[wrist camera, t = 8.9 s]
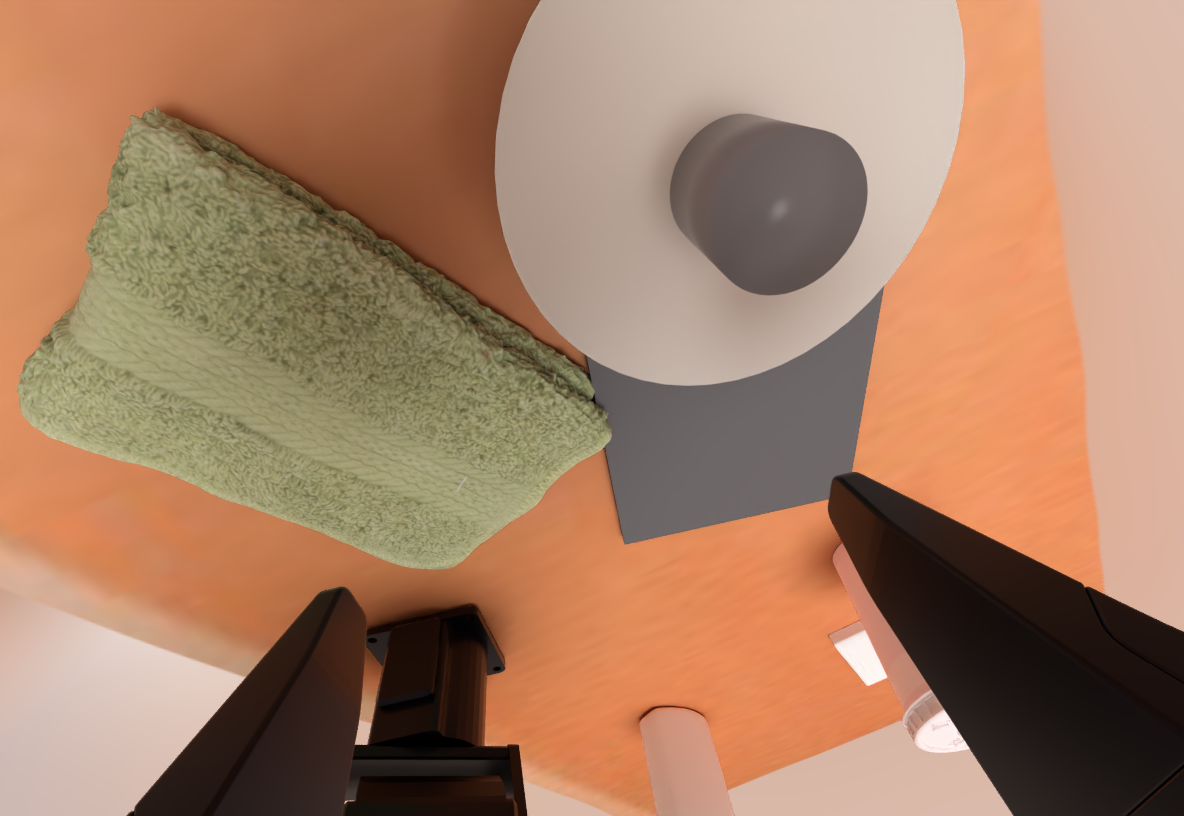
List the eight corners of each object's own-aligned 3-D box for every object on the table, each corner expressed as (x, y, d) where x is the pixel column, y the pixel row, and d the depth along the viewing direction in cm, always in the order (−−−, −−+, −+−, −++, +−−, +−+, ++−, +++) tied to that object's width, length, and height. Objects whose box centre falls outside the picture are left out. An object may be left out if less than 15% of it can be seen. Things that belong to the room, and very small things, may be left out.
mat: (841, 487, 27) (847, 494, 27) (622, 535, 27) (624, 544, 27) (876, 272, 20) (885, 278, 20) (582, 336, 20) (584, 343, 20)
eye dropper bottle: (661, 739, 42) (708, 949, 32) (632, 714, 39) (674, 938, 29) (710, 720, 41) (773, 929, 31) (684, 693, 38) (746, 916, 28)
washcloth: (454, 556, 27) (449, 610, 24) (43, 380, 19) (-33, 433, 16) (626, 389, 22) (641, 433, 20) (183, 62, 14) (110, 63, 12)
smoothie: (847, 595, 33) (1026, 877, 22) (789, 563, 30) (959, 867, 19) (933, 537, 31) (1183, 819, 19) (879, 496, 28) (1134, 797, 17)
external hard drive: (1014, 599, 38) (857, 669, 41) (997, 544, 33) (824, 627, 36) (1032, 618, 36) (869, 690, 39) (1018, 564, 32) (836, 649, 35)
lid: (897, 328, 16) (992, 393, 13) (553, 406, 16) (564, 491, 13) (996, -194, 10) (1232, -317, 6) (422, -68, 9) (380, -132, 6)
